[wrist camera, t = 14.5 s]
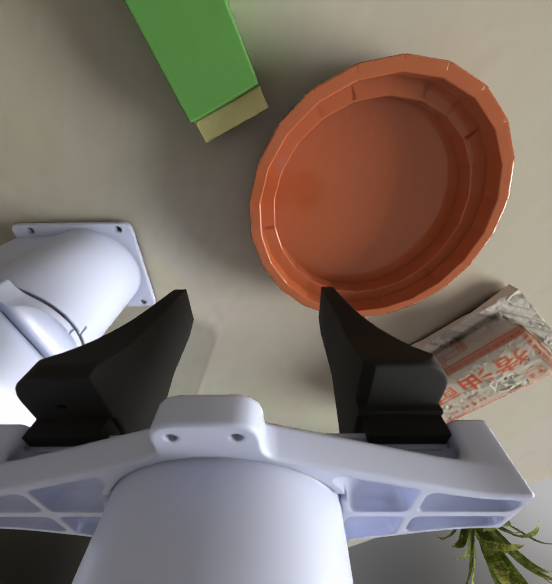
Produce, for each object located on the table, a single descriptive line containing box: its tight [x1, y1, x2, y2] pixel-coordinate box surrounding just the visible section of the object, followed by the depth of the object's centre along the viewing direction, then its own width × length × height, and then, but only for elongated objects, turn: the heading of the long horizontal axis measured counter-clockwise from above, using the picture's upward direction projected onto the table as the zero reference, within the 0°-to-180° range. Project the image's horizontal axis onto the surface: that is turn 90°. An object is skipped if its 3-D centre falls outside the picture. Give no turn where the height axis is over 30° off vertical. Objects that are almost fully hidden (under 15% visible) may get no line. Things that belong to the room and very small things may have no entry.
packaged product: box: [411, 285, 552, 423], centre depth 28 cm, size 18×5×10 cm
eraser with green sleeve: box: [124, 0, 268, 143], centre depth 14 cm, size 4×10×3 cm, turn 25°
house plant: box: [439, 520, 552, 584], centre depth 36 cm, size 14×14×16 cm
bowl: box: [249, 54, 515, 317], centre depth 19 cm, size 16×16×4 cm
